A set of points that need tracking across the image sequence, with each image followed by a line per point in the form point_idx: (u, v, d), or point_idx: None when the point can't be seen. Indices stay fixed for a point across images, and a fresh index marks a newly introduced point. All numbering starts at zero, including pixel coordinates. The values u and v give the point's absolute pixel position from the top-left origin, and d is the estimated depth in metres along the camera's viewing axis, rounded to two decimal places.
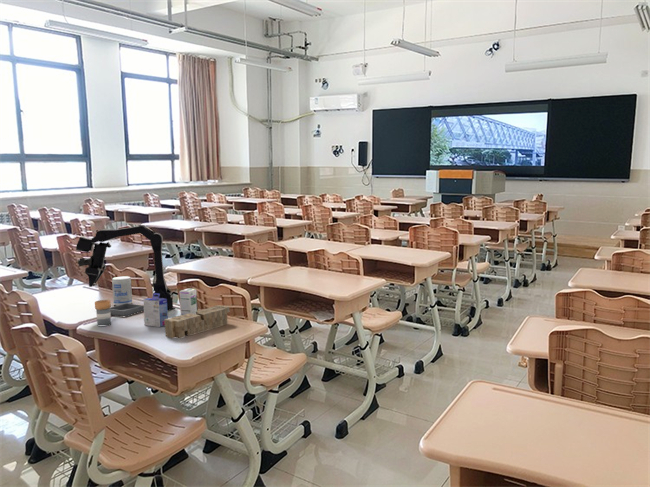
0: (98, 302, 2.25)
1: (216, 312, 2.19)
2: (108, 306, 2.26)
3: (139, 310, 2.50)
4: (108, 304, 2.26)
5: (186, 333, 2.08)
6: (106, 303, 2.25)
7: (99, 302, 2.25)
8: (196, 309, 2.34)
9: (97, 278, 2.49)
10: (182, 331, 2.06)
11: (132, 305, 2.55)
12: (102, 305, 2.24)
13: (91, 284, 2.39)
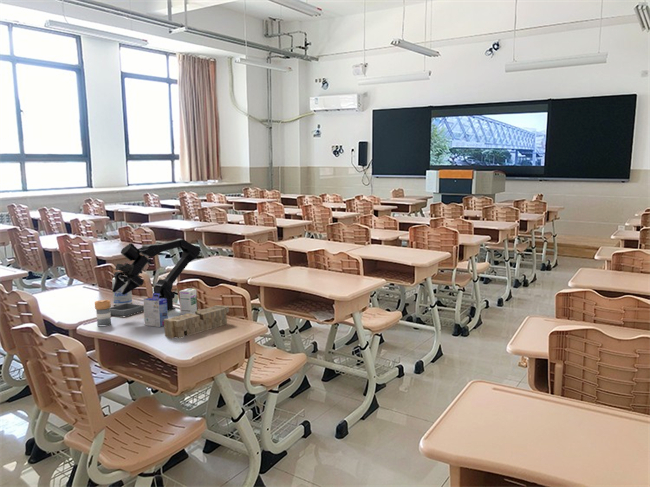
0: (98, 302, 2.25)
1: (215, 312, 2.20)
2: (108, 306, 2.26)
3: (139, 310, 2.50)
4: (108, 304, 2.26)
5: (185, 333, 2.09)
6: (106, 303, 2.25)
7: (99, 302, 2.25)
8: (196, 309, 2.34)
9: (118, 288, 2.38)
10: (182, 331, 2.06)
11: (132, 305, 2.55)
12: (102, 305, 2.24)
13: (125, 292, 2.31)
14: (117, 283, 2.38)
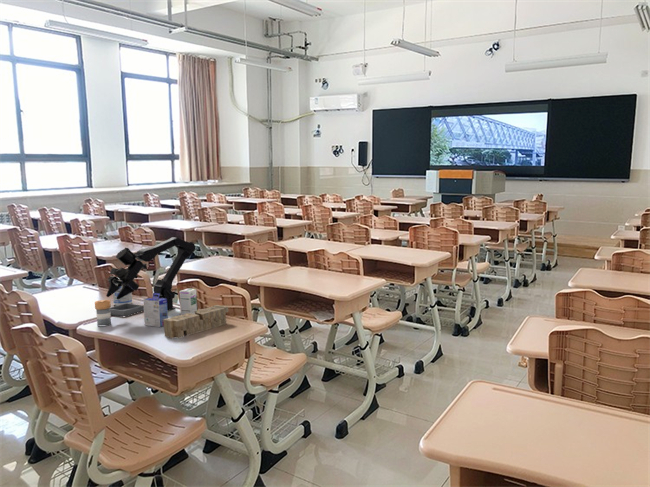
0: (98, 302, 2.25)
1: (215, 312, 2.20)
2: (108, 306, 2.26)
3: (139, 310, 2.50)
4: (108, 304, 2.26)
5: (185, 333, 2.09)
6: (106, 303, 2.25)
7: (99, 302, 2.25)
8: (196, 309, 2.34)
9: (112, 293, 2.35)
10: (181, 331, 2.06)
11: (132, 305, 2.55)
12: (102, 305, 2.24)
13: (120, 297, 2.28)
14: (111, 288, 2.35)
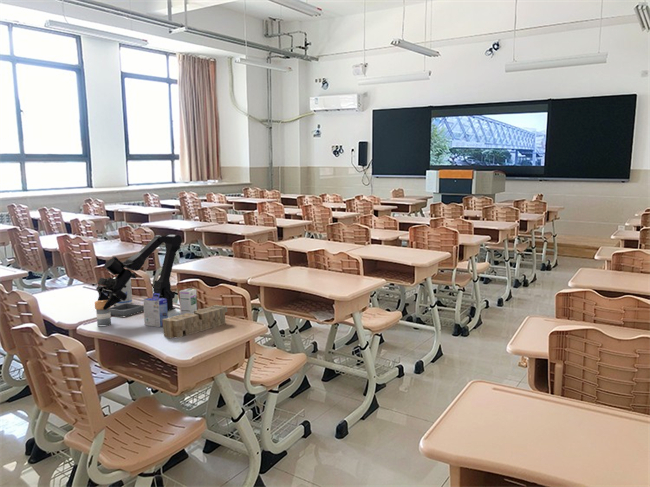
0: (98, 302, 2.25)
1: (214, 312, 2.20)
2: None
3: (139, 310, 2.50)
4: None
5: (184, 333, 2.09)
6: None
7: (99, 302, 2.25)
8: (196, 309, 2.34)
9: None
10: (180, 331, 2.06)
11: (132, 305, 2.55)
12: (102, 305, 2.24)
13: (106, 307, 2.25)
14: (101, 298, 2.30)
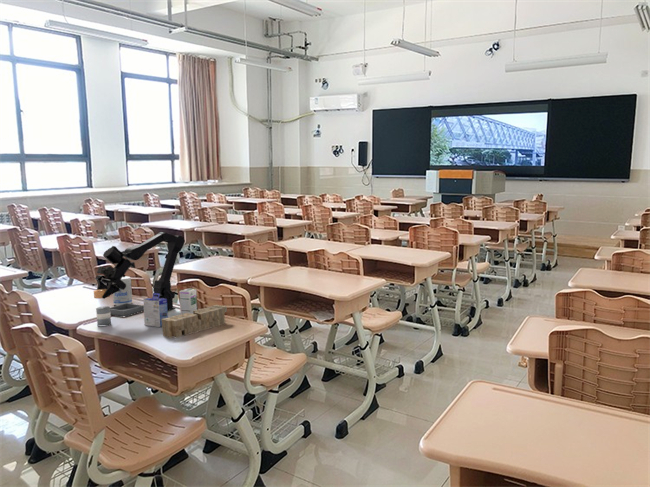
0: (97, 291, 2.25)
1: (213, 312, 2.20)
2: None
3: (139, 310, 2.50)
4: None
5: (183, 332, 2.09)
6: None
7: (98, 291, 2.24)
8: (196, 309, 2.34)
9: None
10: (179, 330, 2.07)
11: (132, 305, 2.55)
12: (101, 294, 2.24)
13: (106, 296, 2.24)
14: (100, 287, 2.30)
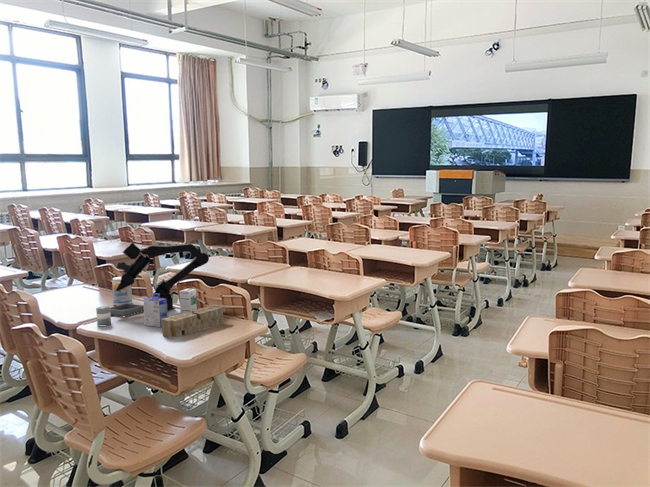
0: (114, 283, 2.44)
1: (212, 311, 2.21)
2: None
3: (139, 310, 2.50)
4: None
5: (183, 332, 2.10)
6: None
7: (115, 283, 2.44)
8: (196, 309, 2.34)
9: None
10: (179, 330, 2.07)
11: (132, 305, 2.55)
12: (115, 287, 2.42)
13: (119, 289, 2.42)
14: None
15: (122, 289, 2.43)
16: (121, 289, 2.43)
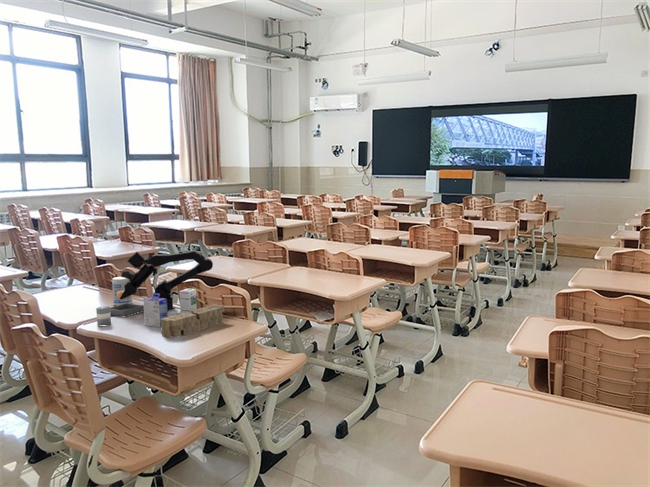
0: (119, 292, 2.47)
1: (211, 311, 2.21)
2: None
3: (139, 310, 2.50)
4: None
5: (182, 332, 2.10)
6: None
7: (119, 292, 2.47)
8: None
9: None
10: (178, 330, 2.07)
11: (132, 305, 2.55)
12: (119, 295, 2.45)
13: (122, 297, 2.45)
14: None
15: (126, 298, 2.46)
16: (125, 298, 2.46)
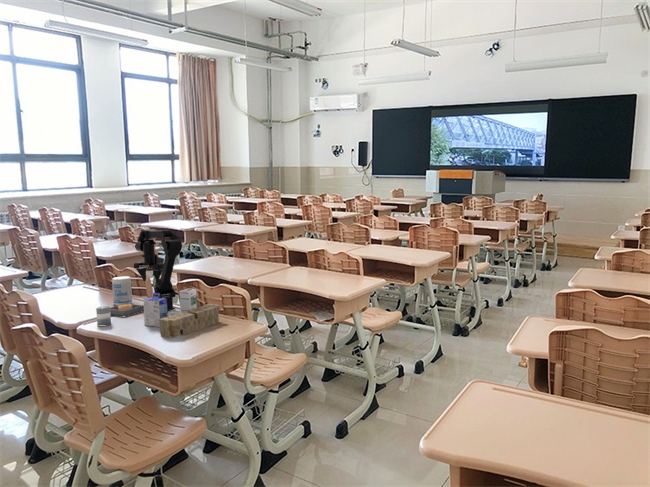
0: (120, 306, 2.48)
1: (208, 310, 2.22)
2: None
3: (139, 310, 2.50)
4: (126, 309, 2.47)
5: (181, 332, 2.10)
6: (124, 308, 2.46)
7: (120, 306, 2.48)
8: None
9: None
10: (178, 330, 2.08)
11: (132, 305, 2.55)
12: (120, 309, 2.46)
13: None
14: None
15: None
16: None
